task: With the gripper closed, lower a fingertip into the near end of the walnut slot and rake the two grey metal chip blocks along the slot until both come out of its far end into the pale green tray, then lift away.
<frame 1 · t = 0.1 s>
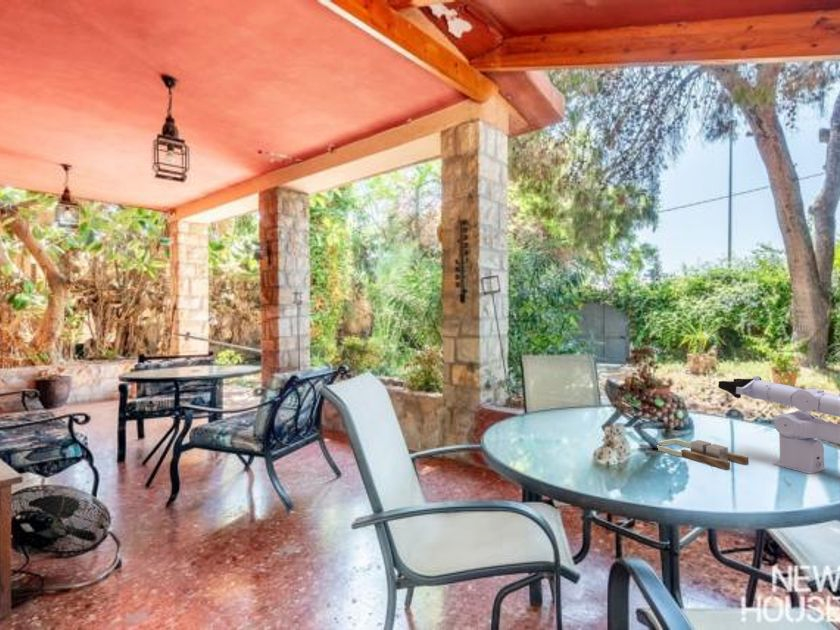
hand: (726, 383, 151), 21 cm above the table, fingers open, 7 cm apart
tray: (677, 449, 151), on the table
chip a: (717, 461, 140), on the table
chip b: (701, 456, 144), on the table
slot rails: (713, 460, 140), on the table
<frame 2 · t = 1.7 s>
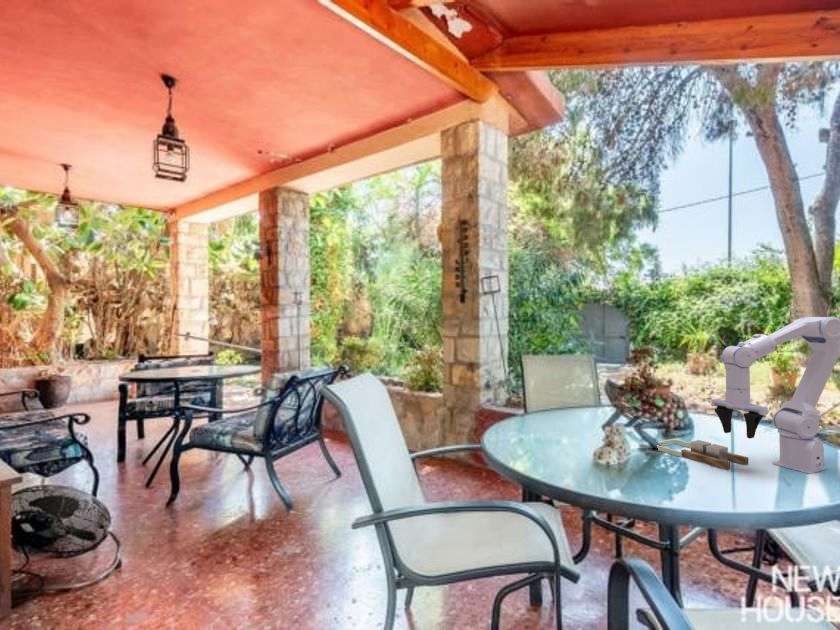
hand: (738, 435, 134), 9 cm above the table, fingers open, 6 cm apart
nothing on the table moved.
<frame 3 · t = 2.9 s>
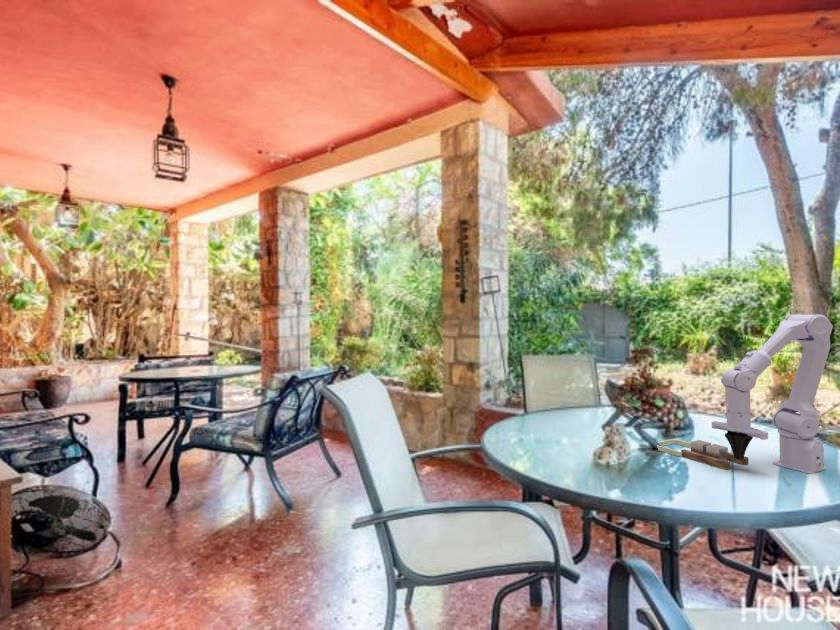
hand: (739, 458, 134), 3 cm above the table, fingers closed
nothing on the table moved.
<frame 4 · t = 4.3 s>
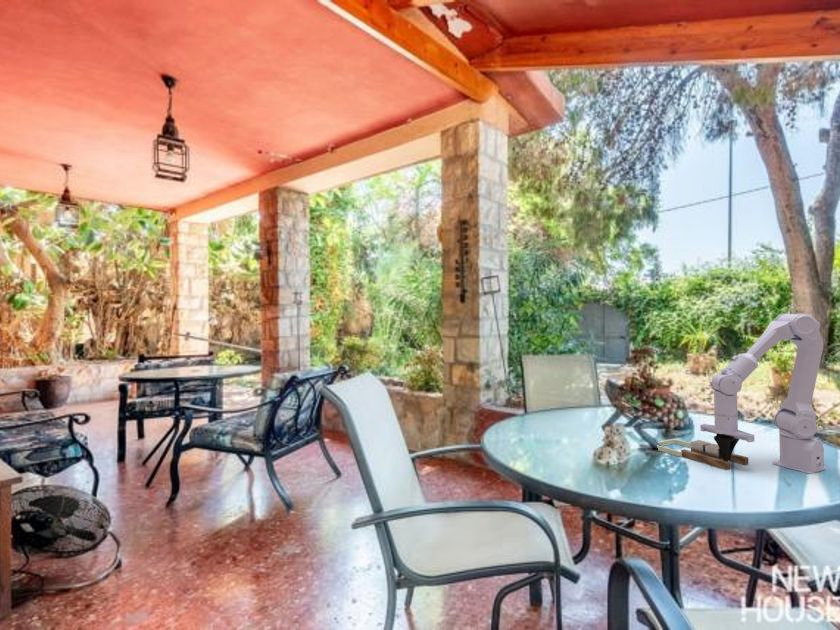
hand: (726, 460, 137), 1 cm above the table, fingers closed, pressing on chip a
chip a: (716, 461, 140), on the table, touching gripper
everything else where it was.
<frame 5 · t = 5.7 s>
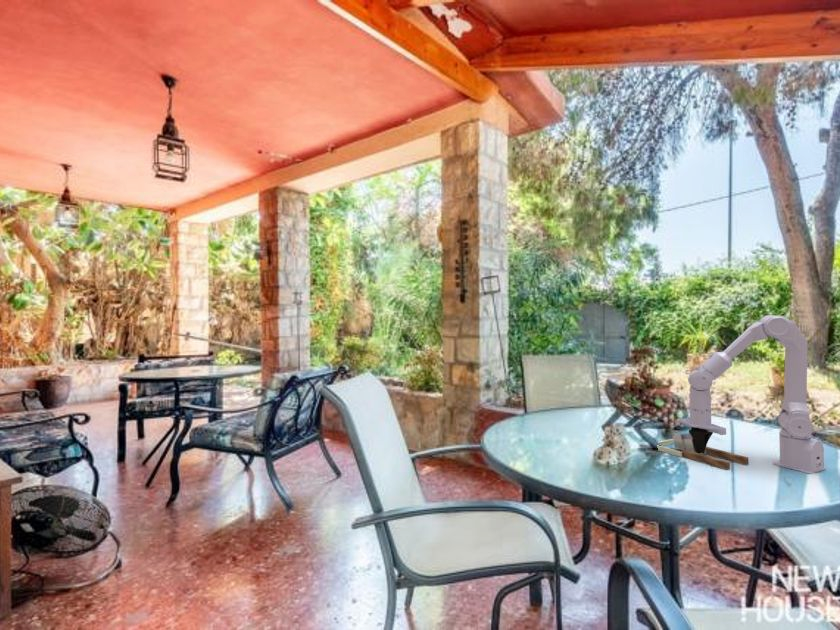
hand: (700, 452, 144), 1 cm above the table, fingers closed, pressing on chip a
chip a: (695, 453, 146), on the table, tilted 16°, touching gripper
chip b: (685, 449, 150), point 1 cm above the table, tilted 17°
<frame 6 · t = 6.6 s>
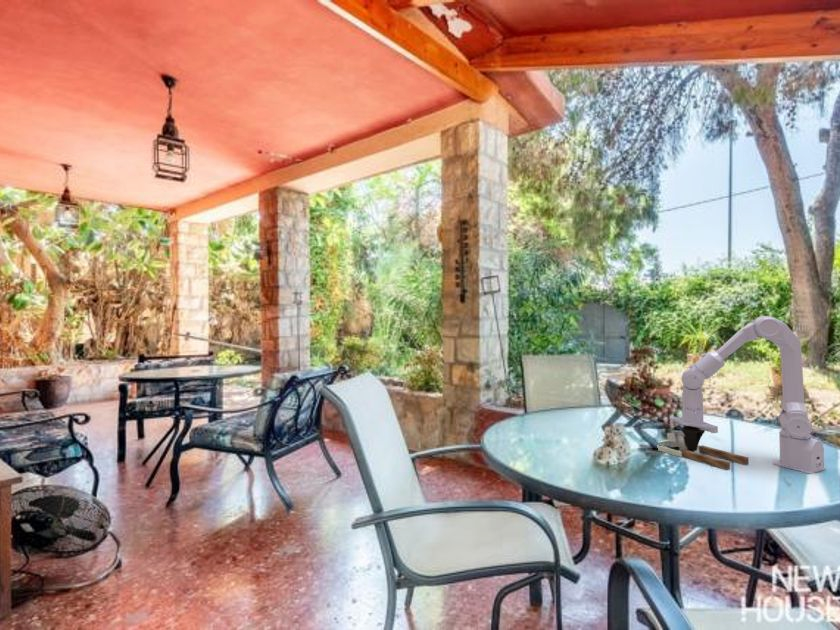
hand: (693, 450, 146), 1 cm above the table, fingers closed, pressing on chip a
chip a: (688, 451, 148), on the table, tilted 19°, touching chip b, gripper
chip b: (679, 446, 153), point 1 cm above the table, tilted 18°, touching chip a
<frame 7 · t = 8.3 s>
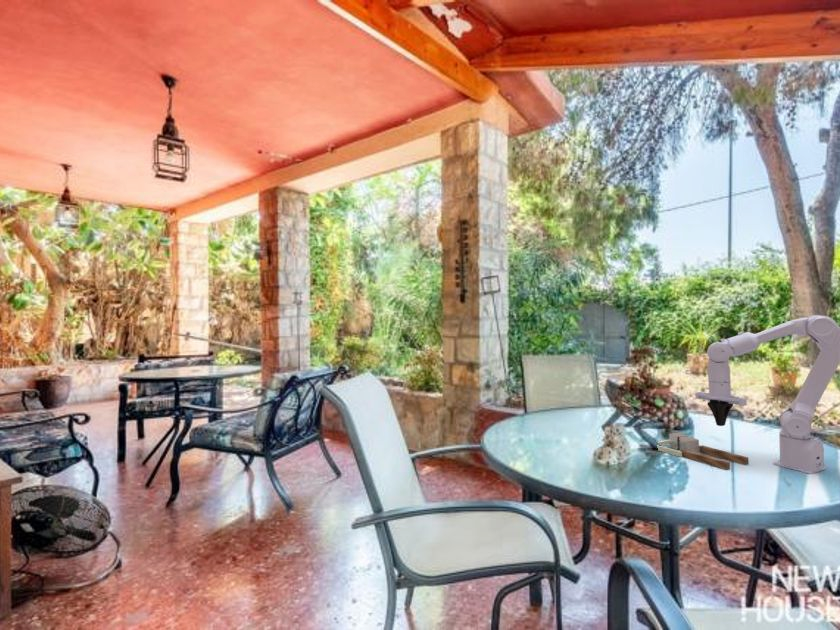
hand: (720, 425, 143), 10 cm above the table, fingers closed
chip a: (688, 452, 149), on the table
chip b: (679, 448, 153), on the table
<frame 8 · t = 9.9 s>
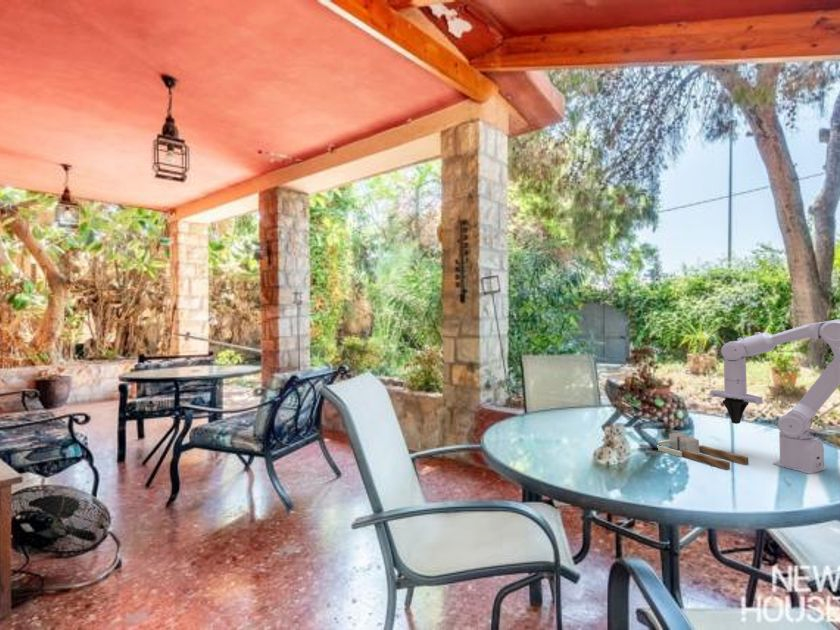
hand: (735, 423, 145), 10 cm above the table, fingers closed
nothing on the table moved.
at the end: chip a inside the target area (3.5 cm from its centre), on the table; chip b inside the target area (2.1 cm from its centre), on the table; chip b touching table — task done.
